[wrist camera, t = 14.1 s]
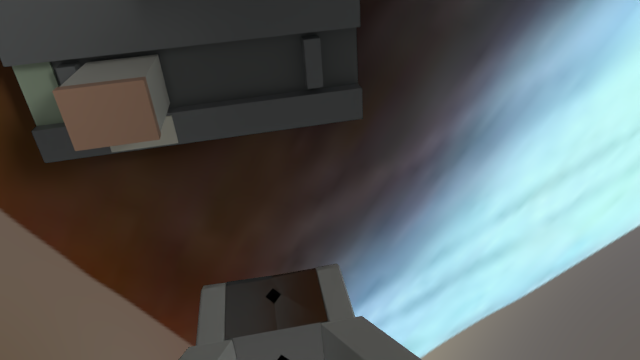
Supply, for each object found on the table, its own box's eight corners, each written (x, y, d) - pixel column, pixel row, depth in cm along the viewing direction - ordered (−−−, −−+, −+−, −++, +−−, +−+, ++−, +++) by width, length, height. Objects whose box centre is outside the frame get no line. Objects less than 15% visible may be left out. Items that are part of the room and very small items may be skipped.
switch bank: (343, -177, 24) (355, -189, 21) (353, 106, 32) (363, 119, 29) (-63, -156, 21) (-98, -167, 19) (58, 146, 29) (43, 164, 27)
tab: (158, 53, 26) (143, 79, 21) (170, 103, 27) (159, 139, 23) (85, 61, 25) (52, 91, 21) (101, 112, 27) (75, 151, 22)
